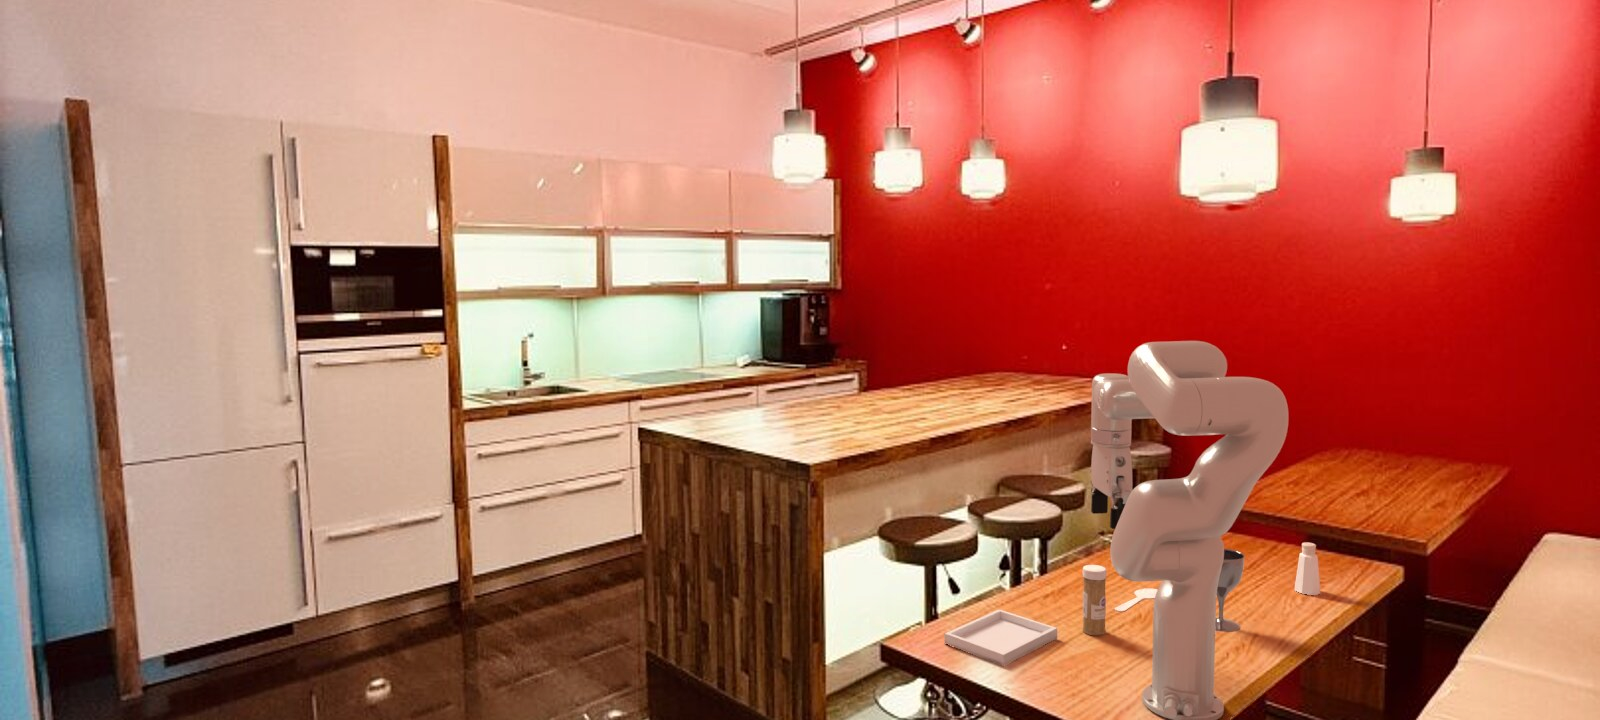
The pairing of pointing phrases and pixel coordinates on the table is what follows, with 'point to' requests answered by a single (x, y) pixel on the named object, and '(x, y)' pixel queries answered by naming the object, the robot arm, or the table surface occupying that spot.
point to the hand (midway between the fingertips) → (1108, 520)
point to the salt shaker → (1308, 571)
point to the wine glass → (1228, 586)
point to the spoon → (1137, 598)
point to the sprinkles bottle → (1094, 600)
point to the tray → (1001, 636)
